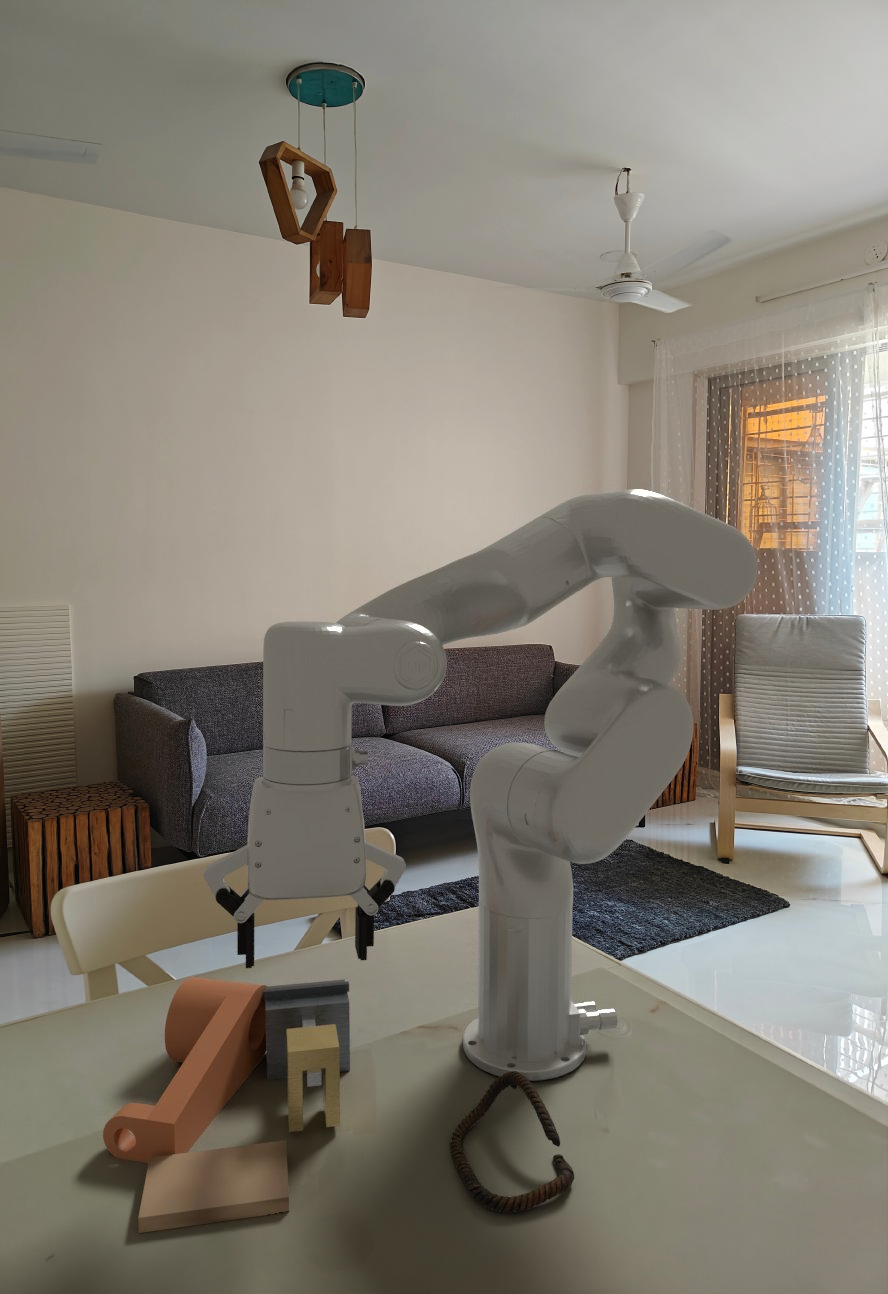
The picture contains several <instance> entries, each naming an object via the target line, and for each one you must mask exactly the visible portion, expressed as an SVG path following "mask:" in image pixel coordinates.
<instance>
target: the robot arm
mask: <svg viewBox="0 0 888 1294" xmlns="http://www.w3.org/2000/svg"><path fill="white" fill-rule="evenodd" d="M758 570H759V569H758V559H757V555H756V552H755V549H754V547H753V545H752V543H751V542H750V540H749V539H748V538H747V536H746V535H745V534H744V533H742V531H740V530H739V529H737V528H736V527H735V526H733V525H731V524H728V523H727V522H725V521H723V520H720V519H718V518H716V517H713V516H711V515H709V514H706V513H705V512H703V511H700V510H698V509H696V508H693V507H691V506H689V505H687V504H685V503H682V502H681V501H677V499H676V500H675V499H673V498H670V497H668V496H665V495H663V494H661V493H657V492H654V491H650V490H645V489H634V488H633V489H625V490H616V491H606V492H595V493H588V494H582V495H577V496H575V497H574V496H573V497H572V498H570V499H568V500H565V501H564V502H562V503H560V504H558V505H556V506H555V507H553V508H551V509H549V510H548V511H546V512H545V513H542V514H541V515H539V516H538V517H536V518H534V519H533V520H531V521H529V522H528V523H525V524H524V525H522V526H520V527H518V528H517V529H515V530H514V531H512V532H511V533H509V534H507V535H505V536H503V537H501V538H500V539H499V540H496V541H495V542H493V543H491V544H490V545H487V546H486V547H484V548H482V549H480V550H478V551H477V552H476V551H475V552H474V553H471V554H469V555H466V556H463V557H461V558H458V559H457V560H454V561H452V562H450V563H448V564H446V565H444V566H442V567H439V568H437V569H434V570H432V571H429V572H427V573H425V574H422V575H419V576H417V577H415V578H413V579H411V580H408V581H406V582H404V583H401V584H398V585H397V586H394V587H393V588H391V589H389V590H387V591H384V593H382V594H380V595H378V596H376V597H375V598H373V599H371V600H369V601H367V602H366V603H364V604H362V605H361V606H359V607H357V608H356V609H354V610H353V611H350V612H349V613H347V614H345V615H344V616H343V617H341V618H340V619H338V620H337V621H336V622H330V621H284V622H278V623H275V624H272V625H271V626H270V627H268V629H267V630H266V631H265V634H264V638H263V652H262V653H263V656H262V657H263V669H262V670H263V672H262V676H263V677H262V679H263V681H262V682H263V684H262V685H263V686H262V687H263V688H262V689H263V690H262V691H263V692H262V695H263V696H262V700H263V702H262V703H263V704H262V708H263V709H262V711H263V712H262V716H263V717H262V718H263V721H262V722H263V723H262V724H263V725H262V737H263V738H262V739H263V740H262V743H263V744H262V746H263V747H262V750H263V751H262V756H263V757H262V772H263V773H262V776H261V777H257V778H255V779H254V782H253V786H252V791H251V797H250V805H249V810H248V811H249V812H248V813H249V814H248V822H247V823H248V826H247V827H248V829H247V840H246V841H247V844H246V845H243V846H242V847H240V848H238V849H236V850H235V851H232V852H231V853H229V854H227V855H225V856H223V857H222V858H219V859H218V860H216V861H214V862H211V863H210V864H209V865H207V866H205V867H204V871H203V879H204V880H205V882H206V884H207V886H208V887H209V889H210V891H211V893H212V894H213V896H214V898H215V901H216V903H218V904H219V905H220V906H221V907H222V908H223V909H224V910H226V912H228V913H229V914H230V915H231V916H232V917H233V919H234V921H235V922H236V923H237V927H236V928H237V929H236V930H237V933H236V934H237V936H236V937H237V939H236V940H237V944H236V945H237V947H236V948H237V950H236V951H237V953H236V955H237V956H243V955H244V956H245V969H252V967H255V911H256V910H257V908H258V907H259V906H260V905H261V904H262V902H263V901H283V900H302V899H303V900H304V899H321V898H334V897H335V898H336V897H346V896H350V897H351V898H352V899H353V900H354V902H355V903H356V904H357V906H355V914H354V916H355V917H354V918H355V919H354V921H355V923H354V924H355V927H354V931H355V933H354V937H355V938H354V947H355V952H356V956H357V959H358V960H360V961H367V959H368V947H374V944H375V915H376V914H377V913H378V912H379V908H380V907H381V906H382V905H383V904H384V903H385V902H386V901H387V900H388V899H389V898H391V896H392V895H393V894H394V892H395V890H396V886H397V884H398V883H399V881H400V879H401V878H402V876H403V874H404V872H405V870H406V868H407V864H406V862H405V859H404V858H403V857H402V856H399V855H397V854H396V853H393V852H391V851H389V850H387V849H385V848H383V847H380V846H378V845H377V844H374V843H372V842H370V841H368V840H366V831H365V829H366V828H365V819H364V818H365V817H364V811H363V802H362V800H363V799H362V792H361V785H360V781H359V778H358V776H356V775H353V771H356V768H360V767H364V766H365V767H366V766H368V764H369V753H368V752H369V751H368V750H360V749H359V748H355V746H353V745H352V732H353V731H352V724H353V723H352V722H353V721H352V717H353V716H352V713H353V712H352V710H353V708H352V707H353V705H354V704H372V705H382V706H392V707H393V706H394V707H395V706H396V707H401V706H403V707H406V706H411V705H414V704H418V703H420V702H422V701H424V700H426V699H428V698H429V697H431V696H433V694H434V693H435V692H436V691H437V690H438V689H439V688H440V686H441V685H442V683H443V681H444V680H445V677H446V673H447V667H448V662H447V661H448V659H447V654H446V650H445V648H444V645H447V644H450V643H452V642H458V641H462V640H465V639H471V638H472V639H473V638H476V637H485V636H492V635H498V634H501V633H505V632H509V631H512V630H516V629H519V628H522V627H525V626H528V625H529V624H530V623H532V622H534V621H536V620H537V619H539V618H540V617H541V616H543V615H544V614H546V613H548V612H549V611H551V610H552V609H553V608H555V607H556V606H558V605H559V604H561V603H562V602H564V601H565V600H567V599H568V598H570V597H571V596H573V595H575V594H576V593H578V592H580V591H582V590H583V589H584V588H586V587H588V586H589V585H591V584H592V583H594V582H596V581H599V580H600V579H604V578H611V586H612V593H613V595H612V596H613V618H612V622H611V626H610V628H609V630H608V632H607V633H606V635H605V636H604V637H603V639H602V640H601V641H600V643H599V644H598V646H596V648H595V649H594V650H593V651H592V652H591V653H590V655H589V656H588V657H587V658H586V659H585V660H584V661H583V662H582V663H581V665H580V666H579V667H577V669H576V670H575V671H574V673H573V674H572V675H571V676H569V678H568V679H567V681H566V682H565V683H563V685H562V686H561V687H560V688H559V690H558V691H557V692H556V693H555V695H554V696H553V697H552V699H551V700H550V702H549V704H548V706H547V708H546V710H545V715H544V726H543V727H544V731H545V734H546V736H547V738H548V740H549V741H550V742H551V744H552V745H553V746H554V747H555V748H557V749H558V750H556V749H553V748H549V747H545V746H542V745H538V744H533V743H527V742H507V743H504V744H500V745H499V746H495V747H494V748H492V749H491V750H489V751H487V753H485V754H484V756H482V757H481V759H480V760H479V761H478V763H477V764H476V766H475V768H474V771H473V774H472V777H471V781H470V787H469V802H470V810H471V818H472V822H473V828H474V833H475V834H474V835H475V839H476V847H477V857H478V858H477V859H478V860H477V861H478V948H477V949H478V951H477V952H478V958H477V959H478V973H477V974H478V975H477V976H478V978H477V979H478V980H477V981H478V986H477V987H478V991H477V993H478V994H477V995H478V996H477V997H478V999H477V1000H478V1001H477V1003H478V1004H477V1009H478V1010H477V1017H476V1018H475V1019H473V1020H472V1021H471V1022H470V1023H469V1024H468V1025H467V1026H466V1028H465V1029H464V1031H463V1036H462V1043H463V1044H462V1048H463V1051H464V1053H465V1055H466V1057H467V1058H468V1060H469V1061H470V1062H471V1063H472V1064H474V1065H475V1066H476V1067H478V1068H479V1069H481V1070H483V1071H484V1072H487V1073H489V1074H491V1075H494V1076H496V1077H500V1076H502V1075H503V1074H504V1073H508V1072H510V1071H517V1072H519V1073H521V1074H522V1075H524V1076H525V1077H526V1078H527V1079H528V1080H529V1081H530V1082H532V1081H536V1082H537V1081H545V1080H551V1079H555V1078H559V1077H561V1076H565V1075H566V1074H569V1073H571V1072H572V1071H574V1070H576V1069H577V1068H578V1067H579V1066H580V1065H581V1064H582V1063H583V1061H584V1060H585V1058H586V1055H587V1039H586V1036H585V1035H588V1034H589V1031H593V1030H595V1031H596V1030H598V1031H600V1030H611V1029H612V1030H613V1029H616V1028H617V1026H618V1017H617V1013H616V1011H615V1009H614V1008H603V1009H597V1006H596V1003H595V1001H594V1000H591V1001H590V1000H589V1001H582V1002H576V1003H574V1001H573V1000H572V978H573V977H572V975H573V974H572V971H573V968H572V967H573V964H572V963H573V961H572V960H573V904H574V883H573V873H572V867H571V863H574V864H582V865H585V864H588V865H589V864H593V863H596V862H599V861H601V860H603V859H605V858H606V857H609V855H610V854H612V853H613V852H614V851H615V850H617V849H618V848H619V847H620V846H621V845H622V844H623V842H624V841H625V840H626V839H627V838H628V836H629V835H630V834H631V833H632V831H634V829H635V828H636V827H637V825H638V824H639V823H640V822H641V821H642V819H643V818H644V816H645V815H646V814H647V813H648V811H649V810H650V808H652V806H653V805H654V804H655V802H656V801H657V800H658V799H659V797H661V795H662V793H663V792H664V791H665V790H666V789H667V787H668V785H669V784H670V783H671V782H672V781H673V779H674V778H675V776H676V775H677V774H678V772H679V771H680V770H681V768H682V766H683V765H684V762H685V761H686V760H687V756H688V754H689V752H690V749H691V745H692V741H693V738H694V737H693V736H694V728H695V727H694V723H695V722H694V715H693V712H692V707H691V705H690V704H689V701H688V700H687V698H686V697H685V696H684V695H683V693H681V691H679V690H678V689H677V688H676V687H674V686H673V685H671V684H670V683H671V682H672V681H673V679H674V677H675V676H676V674H677V673H678V670H679V668H680V664H681V659H682V651H681V650H682V649H681V648H682V647H681V643H680V638H679V633H678V632H679V631H678V626H677V620H676V619H677V618H676V613H675V609H687V610H688V609H690V610H706V611H707V610H713V611H715V610H717V611H718V610H725V609H728V608H729V609H730V608H733V607H735V606H736V605H739V604H740V603H741V602H742V601H743V600H745V599H746V598H747V597H748V595H750V594H751V592H752V590H753V589H754V586H755V585H756V581H757V578H758ZM367 861H369V862H371V863H374V864H376V865H378V866H379V867H383V869H385V870H384V873H383V875H382V877H381V878H380V879H379V880H378V881H377V882H376V883H374V885H373V886H372V887H371V888H369V887H368V886H367V885H366V878H367V877H366V876H367ZM244 866H246V878H247V879H246V880H247V888H245V890H244V891H242V893H241V894H240V895H239V894H238V893H237V892H236V891H235V890H234V889H233V888H231V886H230V885H228V883H227V881H226V879H225V878H226V877H227V876H228V875H230V874H231V873H233V872H235V871H237V870H239V869H241V868H242V867H244Z"/></svg>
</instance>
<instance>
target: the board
mask: <svg viewBox="0 0 888 1294" xmlns="http://www.w3.org/2000/svg"><path fill="white" fill-rule="evenodd" d="M287 1149H288V1148H287V1140H279V1141H278V1140H277V1141H269V1142H268V1141H267V1142H261V1143H254V1144H244V1145H239V1146H238V1145H237V1146H236V1145H235V1146H230V1147H223V1148H222V1147H221V1148H213V1149H206V1150H205V1149H204V1150H197V1151H190V1152H189V1151H188V1152H187V1153H181V1154H173V1155H165V1156H157V1157H150V1158H149V1163H147V1164H148V1165H147V1169H146V1175H145V1181H144V1185H143V1191H142V1197H141V1201H140V1208H139V1213H138V1217H137V1219H138V1234H141V1233H142V1234H143V1233H150V1232H157V1231H164V1230H170V1229H178V1228H185V1227H191V1226H192V1227H193V1226H199V1225H207V1224H213V1223H220V1222H226V1221H235V1220H241V1219H248V1218H255V1217H256V1218H257V1217H263V1216H268V1214H270V1215H276V1214H275V1213H277V1214H280V1213H279V1212H284V1213H286V1212H285V1211H289V1212H290V1195H289V1193H290V1192H289V1172H288V1153H287Z"/></svg>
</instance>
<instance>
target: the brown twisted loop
mask: <svg viewBox="0 0 888 1294" xmlns="http://www.w3.org/2000/svg"><path fill="white" fill-rule="evenodd" d="M509 1087H511V1088H512V1090H517V1089H518V1088H519V1089H520V1090H522V1093H524V1094H525V1096H526V1097H527V1099H528V1100H529V1102H530V1104H531V1106H532V1108H533V1109H534V1110H535V1114H536V1116H537V1118H538V1120H539V1122H540V1124H541V1128H542V1130H543V1131H544V1132H543V1133H544V1135H545V1137H546V1138H547V1140H548V1141H551V1144H552V1145H553V1146H556V1147H558V1148H559V1147H560V1146H561V1139H560V1135H559V1133H558V1130H557V1129H556V1128H557V1127H556V1126H555V1123H554V1122H553V1121H554V1120H553V1119H552V1116H551V1115H550V1113H549V1110H548V1109H547V1107H546V1105H545V1104H544V1101H543V1099H542V1098H541V1096H540V1094H539V1093H538V1091H537V1090H536V1088H535V1087H534V1085H533V1084H532V1081H529V1080H528V1079H527V1078H526V1077H525V1076H524V1075H522V1074H521V1073H519V1072H517V1071H510V1072H508V1073H504V1074H503V1075H502V1076H497V1078H496V1079H495V1080H493V1081H492V1083H491V1084H490V1085H489V1087H488V1089H486V1091H485V1094H484V1095H483V1097H482V1098H480V1100H479V1103H477V1104H476V1105H475V1107H473V1109H472V1110H470V1111H469V1112H468V1114H466V1115H465V1117H464V1118H463V1119H461V1122H460V1123H458V1125H457V1127H456V1128H455V1129H454V1132H453V1133H452V1136H451V1137H450V1143H449V1145H450V1147H449V1148H450V1154H451V1158H452V1161H453V1164H454V1167H455V1168H456V1170H457V1173H458V1174H459V1176H460V1178H461V1180H462V1182H463V1184H464V1186H465V1187H466V1189H467V1190H468V1192H469V1193H470V1195H471V1196H472V1197H473V1199H475V1200H476V1201H477V1202H478V1203H480V1204H481V1205H482V1206H486V1207H487V1208H488V1209H490V1210H493V1211H496V1212H498V1213H499V1212H501V1213H504V1214H505V1213H510V1214H513V1213H521V1212H522V1211H527V1210H529V1209H533V1208H536V1207H537V1206H539V1205H541V1204H544V1203H546V1202H547V1201H548V1200H549V1201H550V1200H551V1199H552V1198H555V1197H556V1196H558V1195H560V1194H562V1193H563V1192H565V1191H567V1190H568V1189H570V1188H571V1186H572V1184H573V1182H574V1180H575V1173H574V1170H573V1167H572V1166H571V1165H570V1164H569V1162H567V1161H566V1160H565V1158H564V1156H563V1155H562V1154H558V1153H557V1154H553V1156H552V1160H553V1163H554V1166H555V1167H556V1170H557V1173H558V1174H559V1176H557V1177H555V1178H554V1179H552V1180H551V1181H549V1182H546V1183H544V1184H543V1185H541V1186H539V1187H537V1188H535V1189H533V1190H530V1191H528V1192H526V1193H522V1194H518V1195H513V1196H508V1195H507V1196H504V1195H499V1194H497V1193H493V1192H492V1191H490V1190H488V1189H487V1188H486V1187H485V1186H484V1185H483V1184H482V1183H481V1182H480V1181H479V1179H478V1177H477V1176H476V1174H475V1172H474V1170H473V1168H472V1167H471V1164H470V1163H469V1160H468V1158H467V1156H466V1154H465V1151H464V1150H465V1149H464V1147H463V1145H464V1140H465V1138H466V1137H467V1135H468V1133H469V1131H470V1130H471V1129H472V1128H473V1127H474V1126H475V1125H476V1124H477V1123H478V1122H479V1121H480V1120H481V1119H482V1118H483V1117H484V1116H485V1115H486V1113H487V1112H488V1111H489V1110H490V1108H491V1107H492V1106H493V1103H495V1101H496V1100H497V1098H498V1096H499V1095H500V1094H501V1093H502V1092H503V1091H504V1090H505V1089H507V1088H509Z"/></svg>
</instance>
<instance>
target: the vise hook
mask: <svg viewBox="0 0 888 1294" xmlns="http://www.w3.org/2000/svg"><path fill="white" fill-rule="evenodd" d="M266 986H267V987H266V989H264V1000H266V1044H267V1051H266V1080H267V1081H270V1080H278V1079H287V1029H292V1028H302V1027H312V1026H321V1025H331V1024H336V1030H337V1036H338V1042H339V1068H340V1073H341V1072H348V1071H349V1072H350V1071H351V1053H350V1052H351V1043H350V1041H351V1039H350V1037H351V1036H350V1033H351V1032H350V1026H351V1025H350V999H349V994H348V992H350V981H349V980H348V981H346V980H345V979H334V980H323V981H315V982H304V983H303V982H301V983H293V984H292V983H291V984H281V985H271V986H268V985H266ZM322 1075H323V1069H314V1070H305V1071H302V1077H306V1084H307V1086H306V1087H317V1086H323V1082H322Z"/></svg>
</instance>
